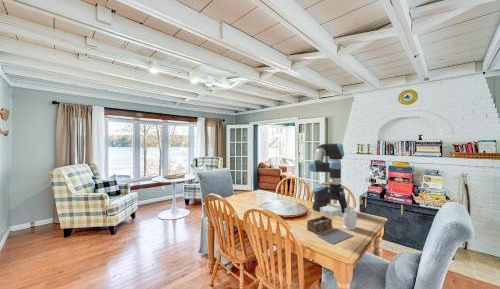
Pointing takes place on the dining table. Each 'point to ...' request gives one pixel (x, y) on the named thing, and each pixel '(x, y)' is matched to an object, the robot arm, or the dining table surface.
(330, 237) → the mat
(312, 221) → the box
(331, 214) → the lid
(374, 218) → the dining table surface
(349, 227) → the jar
